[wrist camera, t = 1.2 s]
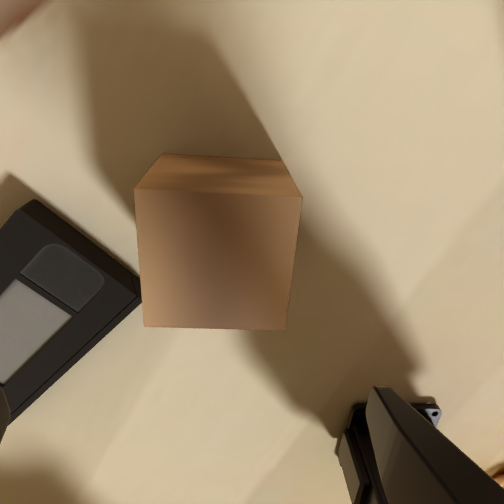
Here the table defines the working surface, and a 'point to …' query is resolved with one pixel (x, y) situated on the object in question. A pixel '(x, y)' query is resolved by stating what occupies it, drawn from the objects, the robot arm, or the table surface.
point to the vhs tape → (53, 301)
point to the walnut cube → (216, 242)
